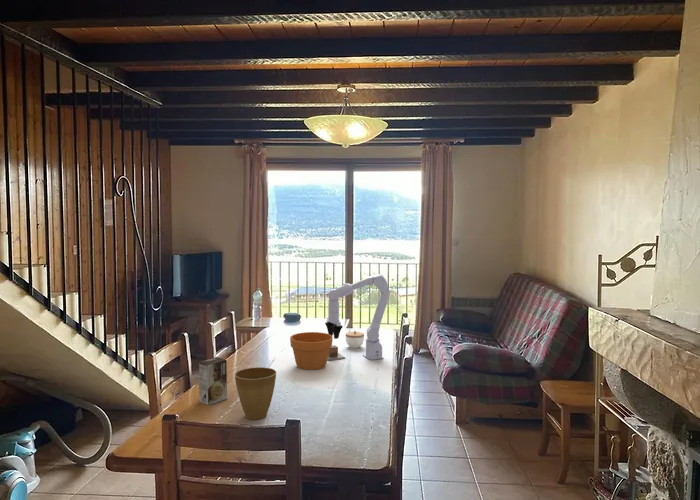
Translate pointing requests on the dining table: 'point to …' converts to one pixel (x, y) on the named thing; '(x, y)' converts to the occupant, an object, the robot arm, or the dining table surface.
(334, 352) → the walnut block
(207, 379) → the coffee box
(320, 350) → the flower pot
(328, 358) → the slate tile
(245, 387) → the plant pot
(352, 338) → the lidded jar
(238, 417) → the dining table surface
